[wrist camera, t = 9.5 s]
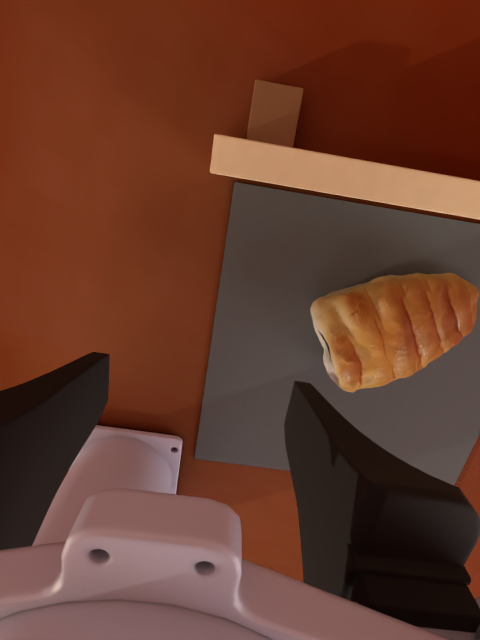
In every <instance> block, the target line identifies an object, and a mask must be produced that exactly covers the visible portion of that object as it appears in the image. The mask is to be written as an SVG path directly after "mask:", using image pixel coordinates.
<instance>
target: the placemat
mask: <svg viewBox="0 0 480 640" xmlns="http://www.w3.org/2000/svg"><path fill="white" fill-rule="evenodd" d="M414 273H422V274H443V273H453V274H456V275H457V276H459V277H461V278H462V279H464V280H466V281H468V282H470V283H472V284H473V285H474V286H475V287H477V289H478V292H479V297H478V299H477V319H476V322H475V325H474V327H473V329H472V332H471V333H469V334H467V335H466V336H465V337H464V338H463V339H462V340H461V341H460V342H459V343H458V344H457V345H455V346H453V347H452V348H450V349H449V350H448V351H447V352H445V353H443V354H442V355H441V356H440V357H439V358H437V359H435V360H433V361H431V362H429V363H428V364H427V366H426V367H424V368H422V369H421V370H419V371H417V372H415V373H414V374H413V375H411V376H410V377H406V378H399V379H396V380H394V381H392V382H390V383H388V384H386V385H384V386H380V387H373V388H363V389H358V390H356V391H355V392H353V393H352V392H347V391H344V390H342V389H341V388H340V387H338V386H337V384H336V383H335V382H334V381H333V380H332V379H331V378H330V376H329V375H328V373H327V370H326V367H325V365H324V361H323V355H324V348H323V346H322V344H321V342H320V341H319V338H318V335H317V334H316V332H315V329H314V326H313V319H312V315H311V312H310V308H311V305H312V303H313V302H314V301H315V300H316V299H318V298H320V297H323V296H326V295H328V294H329V293H331V292H334V291H338V290H341V289H345V288H348V287H352V286H355V285H357V284H364V283H367V282H369V281H372V280H373V279H375V278H378V277H382V276H388V275H397V276H402V275H408V274H414ZM294 381H300V382H307V383H311V384H312V385H313V386H314V387H315V388H316V389H317V390H318V391H319V392H320V394H321V395H322V396H323V397H324V398H325V399H326V400H327V401H328V402H329V403H330V404H331V405H332V406H333V407H334V408H335V409H336V410H337V411H338V412H339V413H340V414H341V415H342V416H343V417H344V418H345V419H346V420H347V421H349V422H350V423H351V424H352V425H353V426H354V427H355V428H357V429H358V430H359V431H360V432H361V433H363V434H364V435H365V436H367V437H368V438H369V439H371V440H372V441H373V442H375V443H376V444H377V445H379V446H380V447H382V448H383V449H385V450H386V451H388V452H389V453H391V454H393V455H394V456H396V457H397V458H399V459H401V460H403V461H404V462H406V463H408V464H410V465H411V466H413V467H415V468H417V469H419V470H421V471H423V472H425V473H427V474H429V475H431V476H433V477H436V478H438V479H440V480H442V481H445V482H447V483H449V484H451V485H455V483H456V481H457V479H458V477H459V474H460V472H461V470H462V468H463V466H464V464H465V462H466V460H467V458H468V456H469V454H470V452H471V450H472V448H473V446H474V444H475V442H476V440H477V438H478V436H479V434H480V224H476V223H471V222H465V221H459V220H453V219H447V218H442V217H436V216H430V215H424V214H418V213H412V212H407V211H401V210H395V209H389V208H383V207H378V206H372V205H366V204H360V203H354V202H348V201H343V200H337V199H331V198H325V197H319V196H314V195H308V194H302V193H296V192H290V191H284V190H279V189H273V188H267V187H261V186H255V185H250V184H244V183H238V182H234V188H233V194H232V201H231V208H230V215H229V222H228V229H227V236H226V243H225V250H224V257H223V264H222V270H221V277H220V284H219V291H218V298H217V305H216V312H215V319H214V326H213V333H212V339H211V346H210V353H209V360H208V367H207V374H206V381H205V388H204V395H203V402H202V408H201V415H200V422H199V429H198V436H197V443H196V450H195V457H194V459H201V460H209V461H217V462H225V463H232V464H240V465H248V466H255V467H263V468H271V469H279V470H286V471H290V467H289V462H288V457H287V452H286V446H285V433H284V422H285V418H286V414H287V410H288V406H289V402H290V398H291V394H292V389H293V385H294Z"/></svg>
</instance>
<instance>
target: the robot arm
mask: <svg viewBox="0 0 480 640" xmlns="http://www.w3.org/2000/svg"><path fill="white" fill-rule="evenodd" d="M109 355H110V354H104V353H97V352H92V353H90V354H87V355H85V356H83V357H81V358H79V359H77V360H75V361H73V362H71V363H69V364H66V365H64V366H62V367H60V368H58V369H56V370H54V371H52V372H49V373H47V374H45V375H42V376H40V377H38V378H35V379H33V380H31V381H28V382H26V383H23V384H20V385H17V386H15V387H12V388H8V389H5V390H2V391H0V640H480V596H479V597H477V598H476V599H474V597H473V596H472V594H471V592H470V590H469V588H468V586H467V585H469V584H470V582H471V578H470V576H469V574H468V572H467V571H466V569H465V567H464V564H465V562H466V560H467V558H468V557H469V555H470V553H471V551H472V550H473V548H474V546H475V544H476V542H477V540H478V537H479V535H480V519H479V516H478V514H477V512H476V511H475V510H474V508H473V507H472V505H471V504H470V502H469V501H468V500H467V498H466V497H465V495H464V494H463V492H462V491H461V490H460V488H458V487H456V486H454V485H451V484H449V483H447V482H445V481H442V480H440V479H438V478H436V477H433V476H431V475H429V474H427V473H425V472H423V471H421V470H419V469H417V468H415V467H413V466H411V465H410V464H408V463H406V462H404V461H403V460H401V459H399V458H397V457H396V456H394V455H393V454H391V453H389V452H388V451H386V450H385V449H383V448H382V447H380V446H379V445H377V444H376V443H375V442H373V441H372V440H371V439H369V438H368V437H367V436H365V435H364V434H363V433H361V432H360V431H359V430H358V429H357V428H355V427H354V426H353V425H352V424H351V423H350V422H349V421H347V420H346V419H345V418H344V417H343V416H342V415H341V414H340V413H339V412H338V411H337V410H336V409H335V408H334V407H333V406H332V405H331V404H330V403H329V402H328V401H327V400H326V399H325V398H324V397H323V396H322V395H321V394H320V392H319V391H318V390H317V389H316V388H315V387H314V386H313V385H312V384H311V383H307V382H300V381H294V385H293V389H292V394H291V398H290V402H289V406H288V410H287V414H286V418H285V422H284V433H285V446H286V452H287V457H288V462H289V467H290V471H291V476H292V481H293V486H294V491H295V495H296V501H297V507H298V516H299V527H300V537H301V550H302V563H303V579H304V583H303V582H301V581H298V580H295V579H293V578H290V577H288V576H285V575H283V574H280V573H277V572H275V571H272V570H270V569H267V568H265V567H262V566H259V565H257V564H254V563H252V562H249V561H247V560H244V559H242V531H241V524H240V517H239V516H238V515H237V514H236V513H235V512H234V511H233V510H232V509H231V508H230V507H229V506H228V505H226V504H223V503H220V502H218V501H215V500H212V499H208V498H200V497H192V496H184V495H176V490H177V482H178V474H179V466H180V459H181V451H182V443H183V441H182V439H181V438H180V437H179V436H174V435H167V434H159V433H152V432H144V431H137V430H129V429H121V428H114V427H106V426H99V425H97V423H98V421H99V419H100V417H101V415H102V413H103V410H104V408H105V406H106V403H107V401H108V387H109ZM172 447H175V448H177V449H173V448H172ZM68 470H69V472H68ZM67 472H68V474H67V476H66V477H65V475H66V473H67ZM64 477H65V479H64ZM63 479H64V481H63ZM62 481H63V482H62ZM61 483H62V484H61ZM60 485H61V486H60ZM59 487H60V488H59Z"/></svg>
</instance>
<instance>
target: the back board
mask: <svg viewBox="0 0 480 640" xmlns="http://www.w3.org/2000/svg"><path fill="white" fill-rule="evenodd" d="M303 93H304V89H303V88H300V87H294V86H289V85H284V84H278V83H273V82H268V81H262V80H255V84H254V90H253V97H252V104H251V110H250V117H249V124H248V130H247V137H246V139H242V138H236V137H230V136H225V135H219V134H215V135H214V141H213V149H212V158H211V166H210V173H213V174H219V175H225V176H230V177H236V178H242V179H248V180H254V181H259V182H265V183H271V184H277V185H283V186H288V187H294V188H300V189H306V190H312V191H317V192H323V193H329V194H335V195H341V196H346V197H352V198H358V199H364V200H370V201H375V202H381V203H387V204H393V205H398V206H404V207H410V208H416V209H422V210H427V211H433V212H439V213H445V214H451V215H456V216H462V217H468V218H474V219H480V181H477V180H471V179H466V178H460V177H454V176H449V175H443V174H438V173H432V172H426V171H421V170H415V169H410V168H404V167H398V166H393V165H387V164H382V163H376V162H370V161H365V160H359V159H354V158H348V157H342V156H337V155H331V154H326V153H320V152H314V151H309V150H303V149H298V148H293V145H294V139H295V134H296V129H297V124H298V119H299V114H300V108H301V103H302V98H303Z"/></svg>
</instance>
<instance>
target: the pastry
mask: <svg viewBox="0 0 480 640" xmlns="http://www.w3.org/2000/svg"><path fill="white" fill-rule="evenodd" d="M478 297H479V292H478V289H477V287H475V286H474V285H473V284H472V283H470V282H468V281H466V280H464V279H462V278H461V277H459V276H457V275H456V274H453V273H443V274H422V273H414V274H408V275H402V276H397V275H388V276H382V277H378V278H375V279H373V280H372V281H369V282H367V283H364V284H357V285H355V286H352V287H348V288H345V289H341V290H338V291H334V292H331V293H329V294H328V295H326V296H323V297H320V298H318V299H316V300H315V301H314V302H313V303H312V305H311V308H310V312H311V315H312V319H313V326H314V329H315V332H316V334H317V335H318V338H319V341H320V342H321V344H322V346H323V348H324V355H323V361H324V365H325V367H326V370H327V373H328V375H329V376H330V378H331V379H332V380H333V381H334V382H335V383H336V384H337V386H338V387H340V388H341V389H342V390H344V391H347V392H352V393H353V392H355V391H356V390H358V389H363V388H373V387H380V386H384V385H386V384H388V383H390V382H392V381H394V380H396V379H399V378H406V377H410V376H411V375H413V374H414V373H415V372H417V371H419V370H421V369H422V368H424V367H426V366H427V364H428V363H429V362H431V361H433V360H435V359H437V358H439V357H440V356H441V355H442V354H443V353H445V352H447V351H448V350H449V349H450V348H452V347H453V346H455V345H457V344H458V343H459V342H460V341H461V340H462V339H463V338H464V337H465V336H466V335H467V334H469V333H471V332H472V329H473V327H474V325H475V322H476V319H477V299H478Z"/></svg>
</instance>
